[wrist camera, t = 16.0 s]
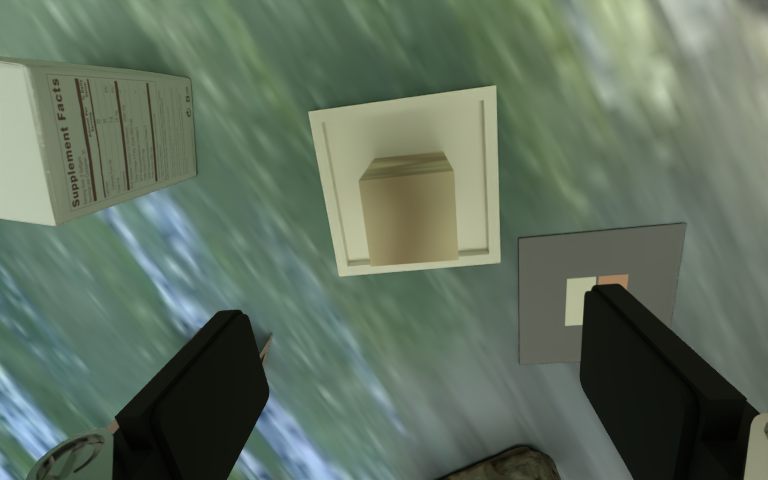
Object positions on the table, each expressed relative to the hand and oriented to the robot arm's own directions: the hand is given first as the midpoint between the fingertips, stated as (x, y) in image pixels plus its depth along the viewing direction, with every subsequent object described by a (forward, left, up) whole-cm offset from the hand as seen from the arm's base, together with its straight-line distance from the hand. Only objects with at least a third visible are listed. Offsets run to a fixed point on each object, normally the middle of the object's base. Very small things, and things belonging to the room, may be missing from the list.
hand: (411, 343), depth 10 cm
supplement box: (+19, -7, -19) cm, 28 cm away
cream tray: (0, 0, -19) cm, 19 cm away
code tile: (-14, +11, -19) cm, 26 cm away
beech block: (0, 0, -19) cm, 19 cm away
